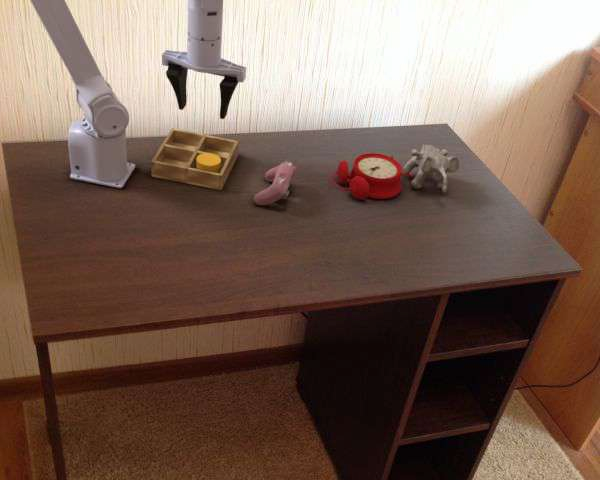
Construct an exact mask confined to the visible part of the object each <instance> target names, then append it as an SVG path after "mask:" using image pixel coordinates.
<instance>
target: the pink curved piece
mask: <svg viewBox="0 0 600 480" xmlns="http://www.w3.org/2000/svg"><path fill="white" fill-rule="evenodd" d="M297 168H298V166H296V165H295V164H294V163H292V162H289V161H288V160H285V161H282V162H281V163H280V164H279V165H277V166H274V167H272V168H270V169H268V170H267V171H266V172H265V174H264V175H265V176H264V178H265V180H266V181H267V182H270V183H272V184H271V185H270V186H269V187H267V188H266V189H263V190H261V191H259V192H258V193H256V194H255V195H254V197H253V201H254V204H256V205H257V206H268V205H270V204H273V203H275V202H278V201H279V200H281V199H282V198H283V196H284V197H288V195H289V194H290V190H288V189H289V187H290V181H291V179H292V178H293V176H294V175H295V172H296V170H297Z"/></svg>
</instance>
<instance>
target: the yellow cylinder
mask: <svg viewBox="0 0 600 480" xmlns="http://www.w3.org/2000/svg"><path fill="white" fill-rule="evenodd" d="M196 169H199V170H204V171H209V172H214V173H219V174H220V171H221V159H220V157H219V156H217V155H215V154H212V153H202V154H200V155H198V156H197V158H196Z"/></svg>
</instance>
